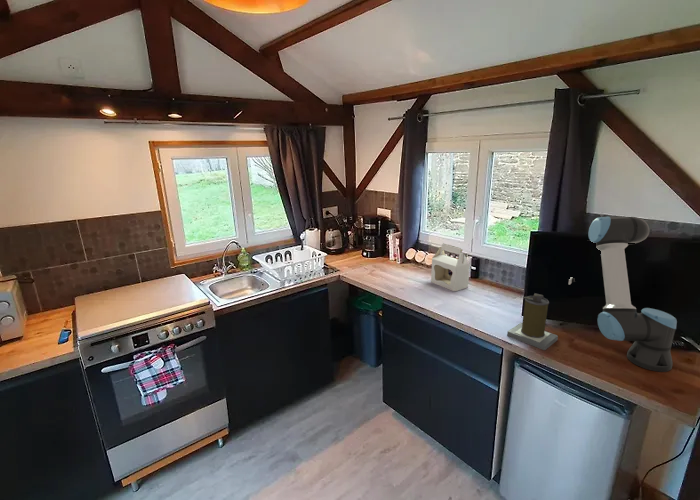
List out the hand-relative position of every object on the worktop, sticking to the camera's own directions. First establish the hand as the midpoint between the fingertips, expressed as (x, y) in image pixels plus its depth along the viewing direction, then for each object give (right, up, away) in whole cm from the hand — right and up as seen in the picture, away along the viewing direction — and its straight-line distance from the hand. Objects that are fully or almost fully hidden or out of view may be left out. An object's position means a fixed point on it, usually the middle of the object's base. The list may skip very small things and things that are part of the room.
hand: (553, 279), depth 178 cm
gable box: (-33, -10, +68) cm, 77 cm away
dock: (-12, -29, -2) cm, 31 cm away
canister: (-12, -26, -3) cm, 29 cm away
